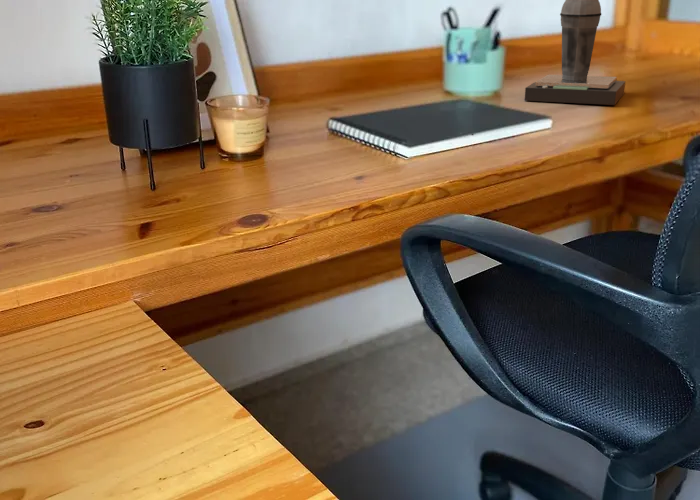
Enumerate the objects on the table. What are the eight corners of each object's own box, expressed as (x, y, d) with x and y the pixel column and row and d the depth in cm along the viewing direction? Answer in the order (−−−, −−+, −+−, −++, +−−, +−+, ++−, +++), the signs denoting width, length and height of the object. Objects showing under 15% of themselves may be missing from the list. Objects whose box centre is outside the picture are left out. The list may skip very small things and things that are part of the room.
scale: (624, 93, 138) (625, 79, 137) (614, 105, 127) (616, 89, 126) (540, 90, 145) (541, 76, 144) (524, 100, 133) (525, 85, 132)
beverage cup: (602, 78, 134) (615, -37, 126) (577, 83, 130) (588, -35, 122) (571, 73, 139) (582, -37, 132) (546, 78, 136) (555, -35, 128)
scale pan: (616, 81, 137) (616, 76, 136) (608, 88, 127) (608, 84, 127) (547, 78, 142) (548, 74, 142) (535, 86, 133) (535, 81, 133)
